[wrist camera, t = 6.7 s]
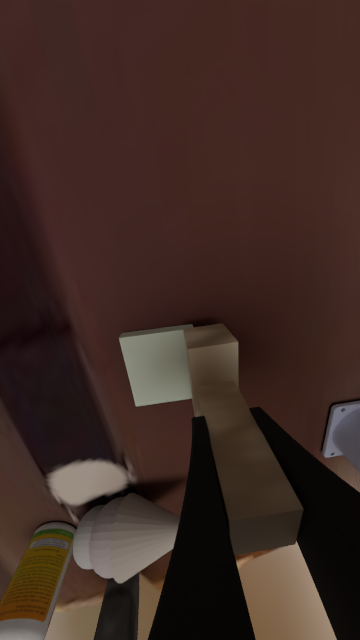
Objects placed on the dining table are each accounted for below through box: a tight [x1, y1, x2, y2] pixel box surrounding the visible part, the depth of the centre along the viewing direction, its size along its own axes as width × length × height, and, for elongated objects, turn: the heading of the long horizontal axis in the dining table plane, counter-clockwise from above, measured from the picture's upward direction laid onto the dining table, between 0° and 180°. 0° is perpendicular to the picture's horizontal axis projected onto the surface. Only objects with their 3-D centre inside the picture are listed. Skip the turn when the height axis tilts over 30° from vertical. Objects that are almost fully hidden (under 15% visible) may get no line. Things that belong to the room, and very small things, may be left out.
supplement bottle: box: [0, 522, 76, 640], centre depth 18 cm, size 5×5×10 cm
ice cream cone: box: [73, 493, 180, 583], centre depth 19 cm, size 6×6×15 cm
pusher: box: [183, 323, 303, 555], centre depth 10 cm, size 3×8×9 cm, turn 7°
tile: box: [119, 324, 193, 406], centre depth 16 cm, size 2×7×6 cm
